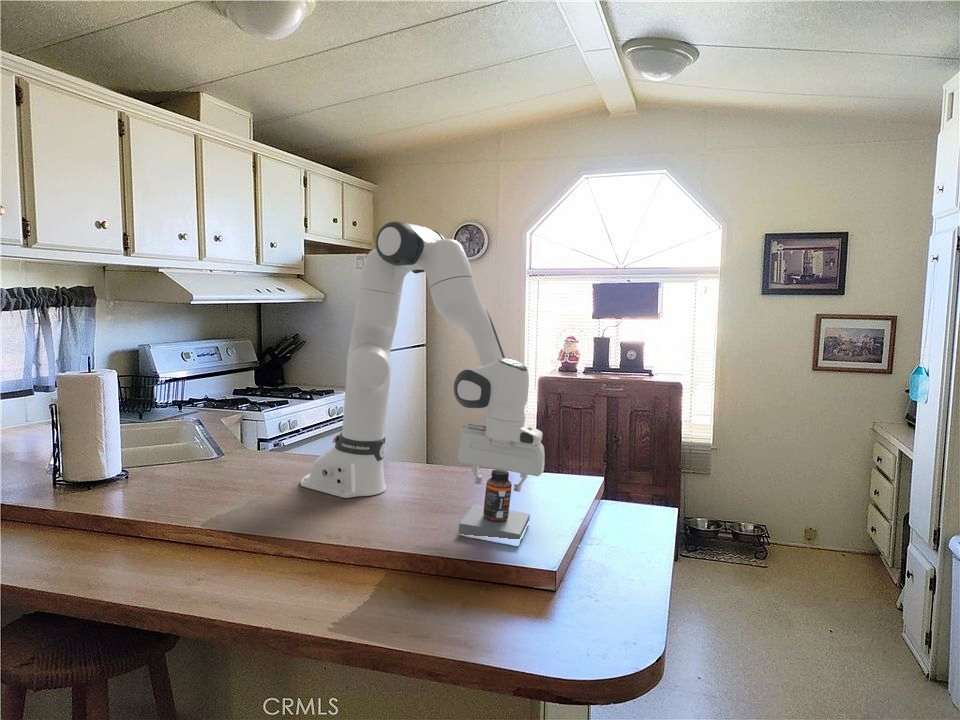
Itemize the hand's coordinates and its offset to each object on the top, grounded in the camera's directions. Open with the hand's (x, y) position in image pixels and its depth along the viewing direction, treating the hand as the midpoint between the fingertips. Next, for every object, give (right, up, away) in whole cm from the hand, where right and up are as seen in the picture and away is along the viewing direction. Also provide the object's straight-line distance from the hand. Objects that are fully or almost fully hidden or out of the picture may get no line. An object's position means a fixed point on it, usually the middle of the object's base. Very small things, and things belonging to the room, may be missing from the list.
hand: (497, 487), depth 150 cm
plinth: (-1, -11, +1) cm, 11 cm away
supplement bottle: (0, -8, +1) cm, 8 cm away
